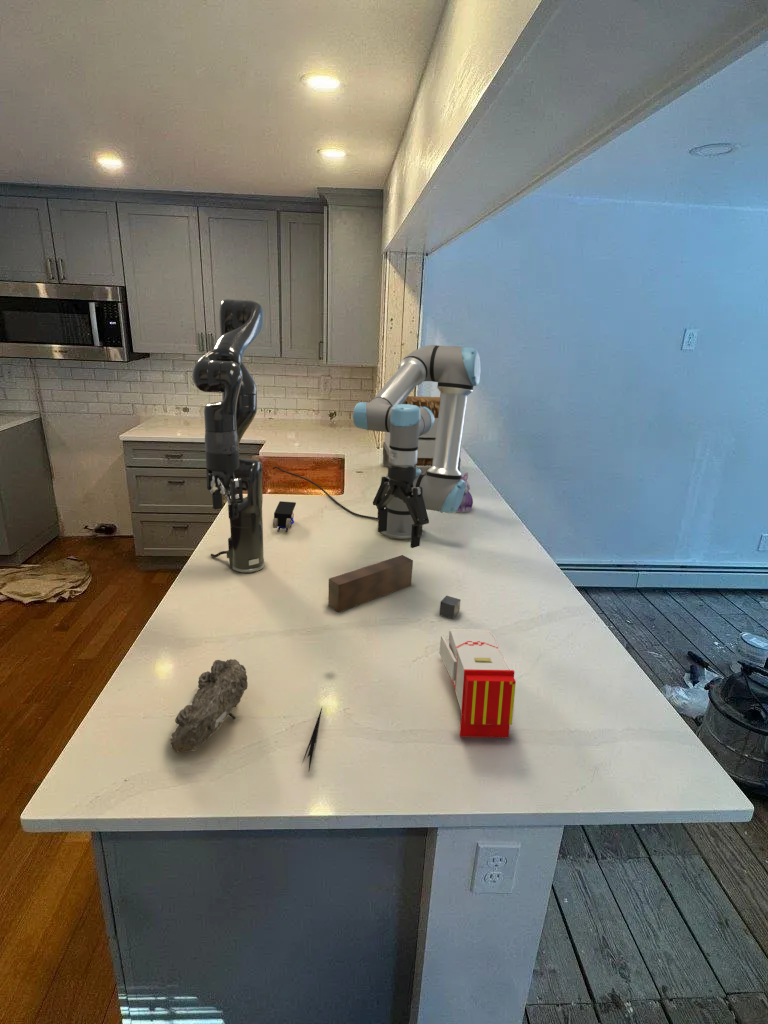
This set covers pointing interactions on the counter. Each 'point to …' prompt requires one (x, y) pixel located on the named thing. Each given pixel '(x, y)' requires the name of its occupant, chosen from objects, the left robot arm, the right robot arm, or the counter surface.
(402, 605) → the counter surface
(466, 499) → the figurine
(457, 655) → the toy
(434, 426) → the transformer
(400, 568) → the walnut bar
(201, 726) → the fossil
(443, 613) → the slate cube
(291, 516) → the figurine character
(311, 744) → the feather
